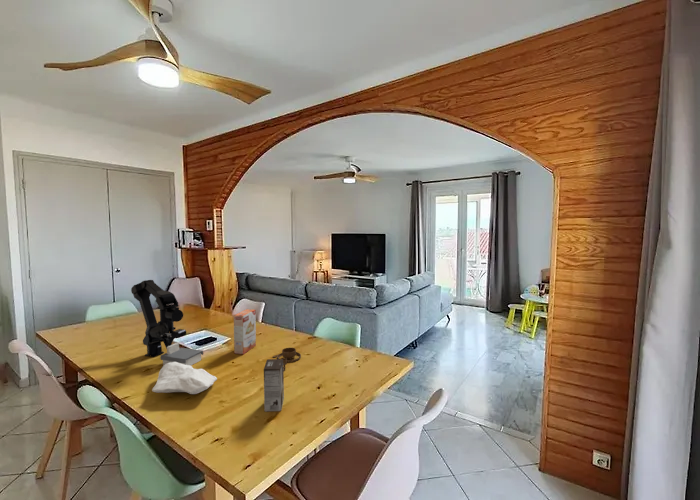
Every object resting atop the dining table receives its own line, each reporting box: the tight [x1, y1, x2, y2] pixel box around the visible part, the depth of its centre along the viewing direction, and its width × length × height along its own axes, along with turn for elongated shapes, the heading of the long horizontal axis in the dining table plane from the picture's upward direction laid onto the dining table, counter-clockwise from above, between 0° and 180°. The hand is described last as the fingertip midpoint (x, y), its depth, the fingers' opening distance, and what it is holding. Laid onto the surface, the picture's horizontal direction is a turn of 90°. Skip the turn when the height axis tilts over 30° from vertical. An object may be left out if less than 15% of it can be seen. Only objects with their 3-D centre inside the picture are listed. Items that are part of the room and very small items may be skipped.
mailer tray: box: [162, 353, 202, 366], centre depth 168 cm, size 14×10×4 cm
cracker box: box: [233, 308, 257, 355], centre depth 184 cm, size 14×6×21 cm, turn 168°
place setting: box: [272, 347, 302, 372], centre depth 170 cm, size 18×20×6 cm
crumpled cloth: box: [151, 362, 218, 395], centre depth 141 cm, size 24×35×9 cm
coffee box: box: [263, 358, 285, 412], centre depth 128 cm, size 9×6×16 cm
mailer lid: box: [159, 342, 204, 363], centre depth 168 cm, size 15×12×6 cm
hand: (168, 348), depth 170 cm, fingers closed
